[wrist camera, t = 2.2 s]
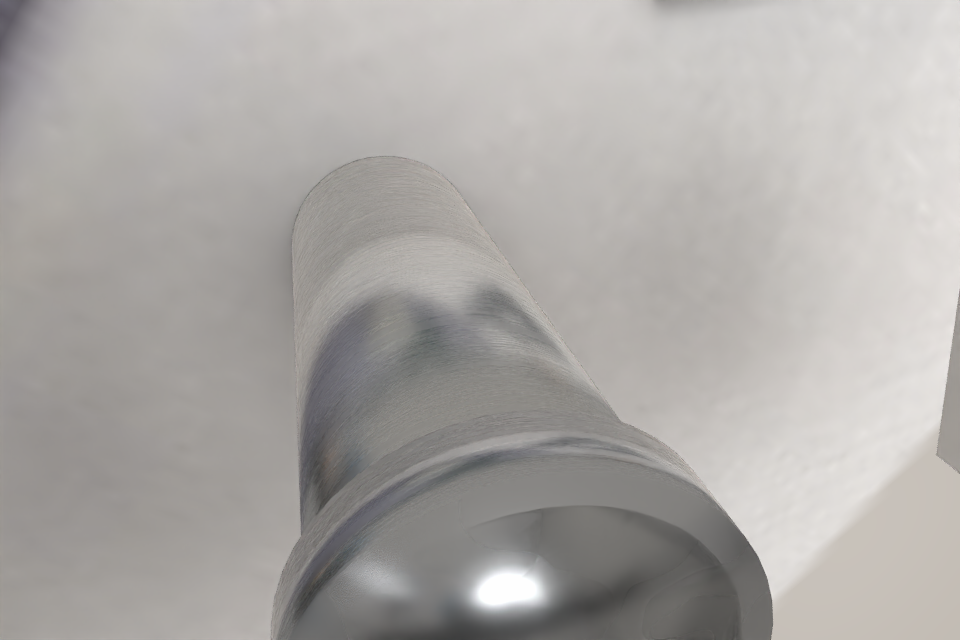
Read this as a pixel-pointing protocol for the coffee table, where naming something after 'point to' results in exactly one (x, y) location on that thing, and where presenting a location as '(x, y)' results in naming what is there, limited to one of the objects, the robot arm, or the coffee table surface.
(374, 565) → the grey cylinder
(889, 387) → the coffee table surface
